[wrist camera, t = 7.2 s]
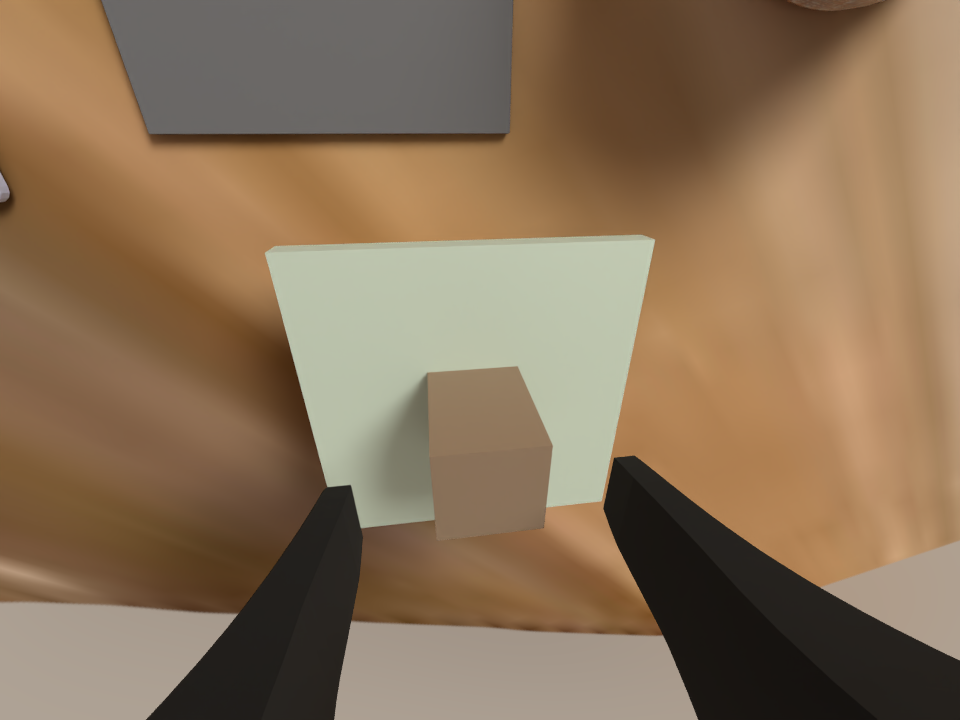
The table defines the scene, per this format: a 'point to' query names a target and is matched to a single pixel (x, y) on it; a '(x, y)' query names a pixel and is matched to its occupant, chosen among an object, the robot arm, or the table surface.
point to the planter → (833, 4)
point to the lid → (464, 371)
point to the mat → (318, 65)
